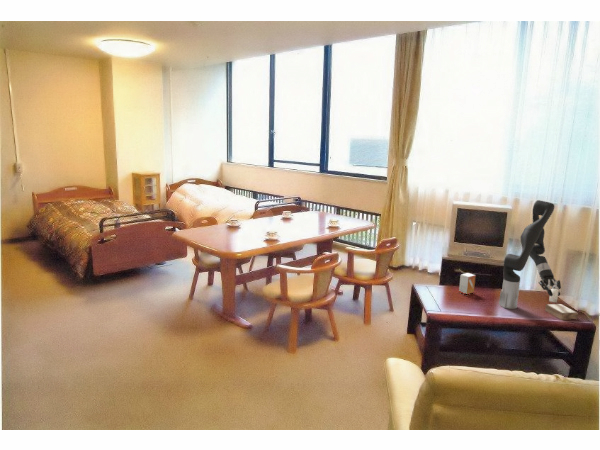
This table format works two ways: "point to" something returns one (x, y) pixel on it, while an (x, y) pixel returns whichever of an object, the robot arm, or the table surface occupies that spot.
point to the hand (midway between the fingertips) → (555, 295)
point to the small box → (467, 283)
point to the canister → (554, 295)
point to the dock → (561, 311)
